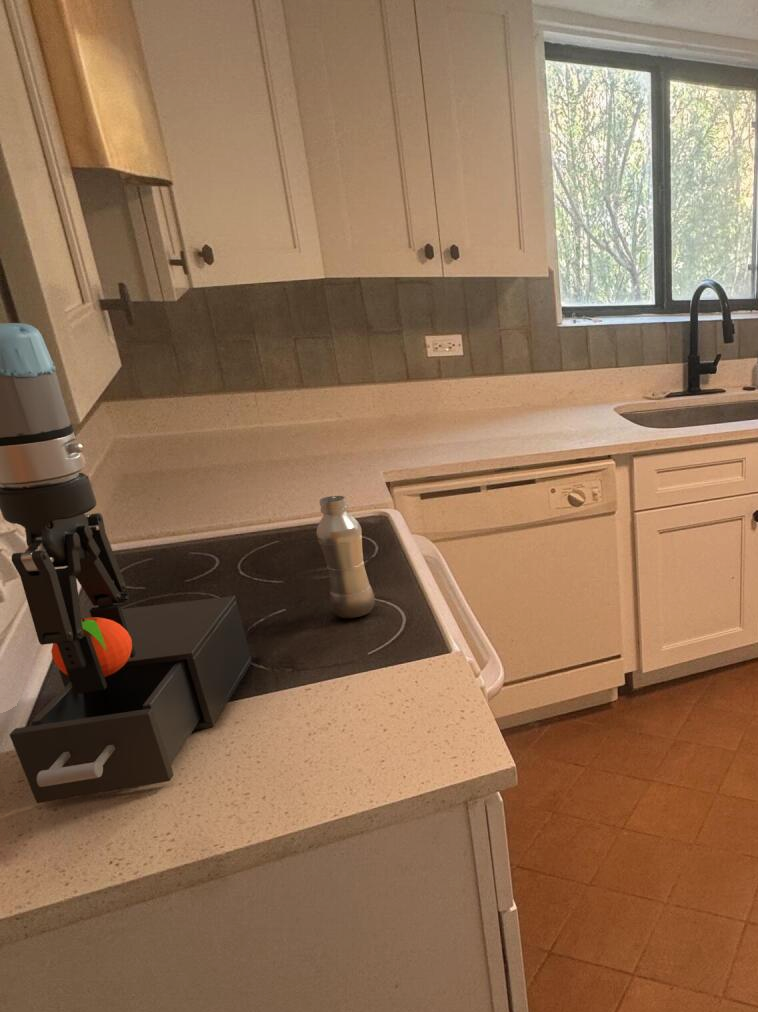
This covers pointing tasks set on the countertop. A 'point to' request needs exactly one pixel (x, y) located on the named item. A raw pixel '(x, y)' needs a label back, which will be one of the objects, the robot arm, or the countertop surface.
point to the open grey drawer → (110, 733)
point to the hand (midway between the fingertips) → (106, 672)
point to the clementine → (103, 644)
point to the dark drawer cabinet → (193, 646)
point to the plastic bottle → (344, 559)
